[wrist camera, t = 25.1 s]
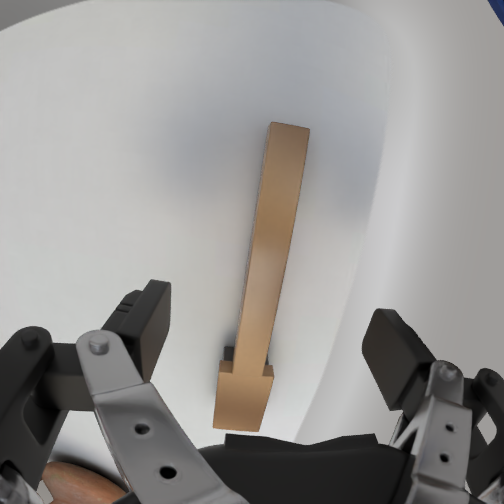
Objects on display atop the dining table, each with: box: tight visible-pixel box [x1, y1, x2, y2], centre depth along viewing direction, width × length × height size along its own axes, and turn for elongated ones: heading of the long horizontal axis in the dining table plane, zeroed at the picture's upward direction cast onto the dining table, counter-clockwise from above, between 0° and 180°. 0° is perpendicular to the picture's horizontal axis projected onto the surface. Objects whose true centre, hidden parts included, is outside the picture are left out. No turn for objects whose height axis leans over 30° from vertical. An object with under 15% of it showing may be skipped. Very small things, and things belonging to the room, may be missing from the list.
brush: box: [213, 122, 310, 432], centre depth 17 cm, size 20×3×3 cm, turn 172°
